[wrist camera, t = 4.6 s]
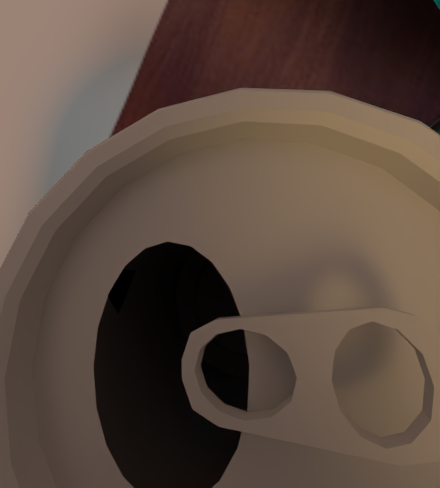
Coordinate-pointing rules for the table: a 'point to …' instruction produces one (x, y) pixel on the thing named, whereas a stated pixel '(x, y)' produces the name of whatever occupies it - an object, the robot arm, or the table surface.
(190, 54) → the table surface
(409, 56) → the table surface
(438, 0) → the cloth
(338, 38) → the table surface
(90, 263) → the can
